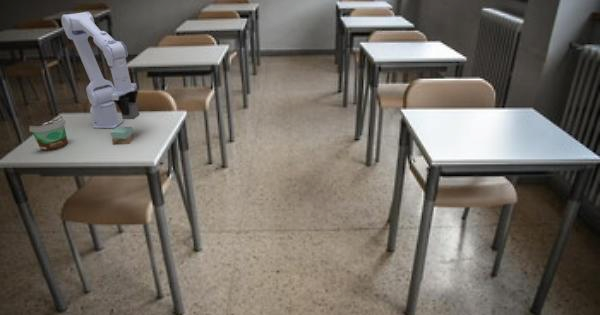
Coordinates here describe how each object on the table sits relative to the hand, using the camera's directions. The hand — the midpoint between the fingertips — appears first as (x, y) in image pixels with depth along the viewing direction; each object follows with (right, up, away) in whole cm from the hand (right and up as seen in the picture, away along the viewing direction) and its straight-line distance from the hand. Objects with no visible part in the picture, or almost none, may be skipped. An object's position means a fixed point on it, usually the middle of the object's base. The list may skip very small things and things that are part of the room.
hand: (129, 112), depth 157 cm
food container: (-25, -13, -3) cm, 29 cm away
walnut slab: (-2, -11, 0) cm, 11 cm away
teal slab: (-2, -9, -1) cm, 9 cm away
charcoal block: (0, -2, +1) cm, 2 cm away
